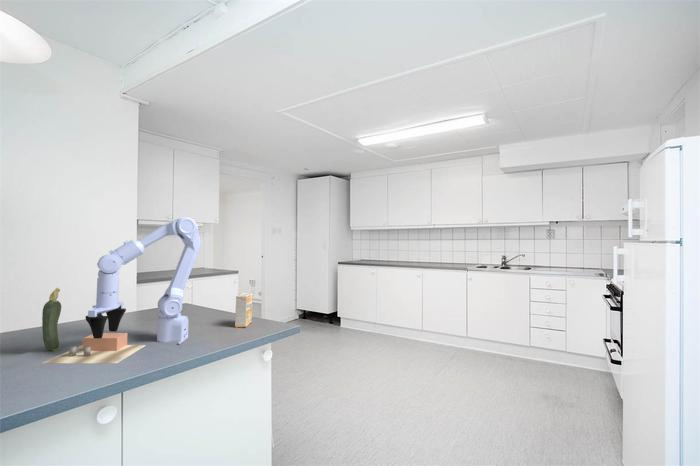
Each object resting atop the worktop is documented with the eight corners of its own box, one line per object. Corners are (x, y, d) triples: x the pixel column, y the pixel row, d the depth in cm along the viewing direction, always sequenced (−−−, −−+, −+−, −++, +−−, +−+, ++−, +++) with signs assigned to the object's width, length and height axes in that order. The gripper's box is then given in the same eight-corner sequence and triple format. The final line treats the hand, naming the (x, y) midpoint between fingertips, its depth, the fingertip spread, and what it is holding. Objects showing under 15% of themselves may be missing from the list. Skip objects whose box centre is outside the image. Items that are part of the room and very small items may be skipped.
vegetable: (43, 356, 101) (46, 289, 101) (38, 353, 103) (41, 288, 103) (61, 352, 104) (64, 288, 105) (56, 349, 107) (59, 286, 107)
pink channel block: (127, 345, 110) (127, 333, 110) (116, 350, 105) (117, 338, 105) (94, 345, 109) (95, 332, 109) (82, 350, 104) (83, 337, 104)
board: (146, 347, 111) (146, 337, 111) (116, 365, 95) (117, 354, 95) (82, 347, 109) (82, 337, 109) (41, 366, 93) (41, 354, 93)
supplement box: (246, 328, 138) (247, 296, 138) (234, 327, 138) (235, 295, 138) (252, 323, 146) (253, 293, 146) (241, 322, 146) (242, 292, 146)
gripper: (109, 288, 114) (107, 328, 114) (78, 295, 100) (75, 341, 99) (130, 288, 115) (128, 328, 114) (103, 296, 100) (100, 341, 100)
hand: (105, 334), depth 107 cm, fingers open, 7 cm apart
